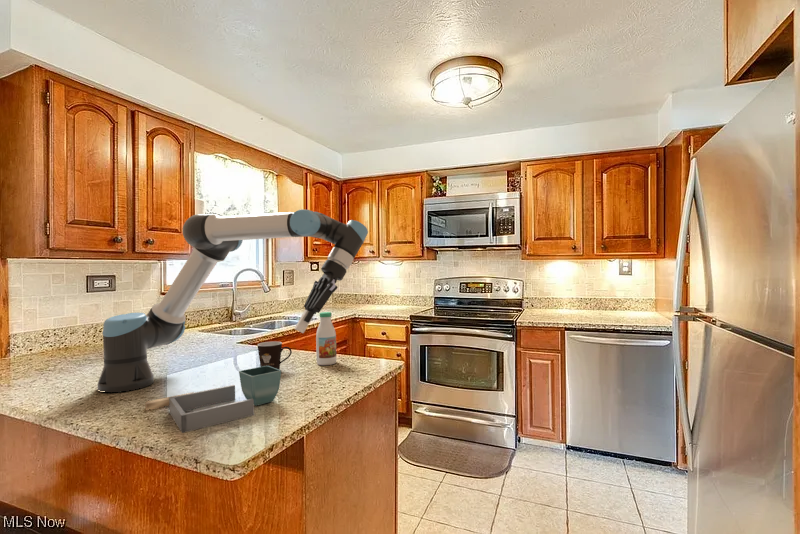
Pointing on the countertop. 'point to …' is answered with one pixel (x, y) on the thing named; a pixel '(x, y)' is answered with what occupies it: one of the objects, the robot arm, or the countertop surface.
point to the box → (210, 414)
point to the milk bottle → (326, 340)
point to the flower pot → (260, 384)
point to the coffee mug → (271, 354)
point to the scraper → (159, 402)
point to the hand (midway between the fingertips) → (298, 330)
